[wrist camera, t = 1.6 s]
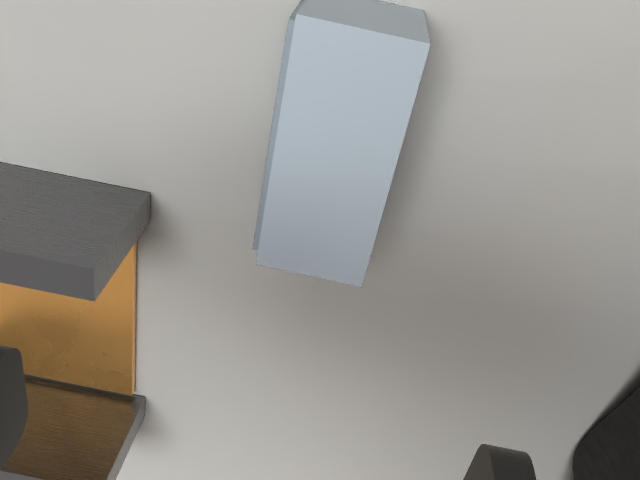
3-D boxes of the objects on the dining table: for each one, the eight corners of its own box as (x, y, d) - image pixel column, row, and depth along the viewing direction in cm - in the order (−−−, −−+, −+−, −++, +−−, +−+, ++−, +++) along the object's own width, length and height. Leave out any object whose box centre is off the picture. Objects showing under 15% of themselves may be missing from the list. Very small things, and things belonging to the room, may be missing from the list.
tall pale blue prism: (308, -17, 22) (287, 11, 18) (423, 9, 22) (430, 44, 18) (272, 199, 27) (249, 262, 22) (366, 220, 27) (361, 287, 22)
